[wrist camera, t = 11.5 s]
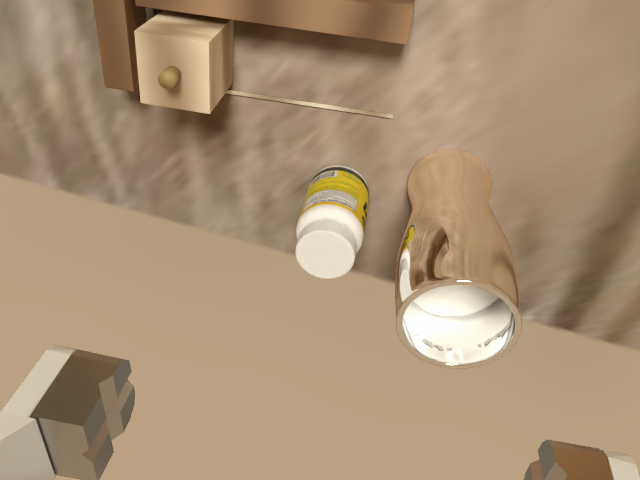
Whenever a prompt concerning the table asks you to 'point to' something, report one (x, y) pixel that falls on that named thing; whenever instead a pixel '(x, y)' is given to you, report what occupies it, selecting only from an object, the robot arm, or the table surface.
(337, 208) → the supplement bottle
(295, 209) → the table surface
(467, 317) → the beer glass
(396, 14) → the fence board
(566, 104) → the table surface
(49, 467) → the robot arm
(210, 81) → the block
